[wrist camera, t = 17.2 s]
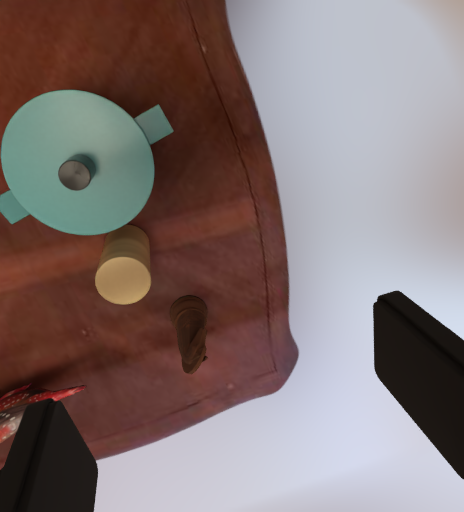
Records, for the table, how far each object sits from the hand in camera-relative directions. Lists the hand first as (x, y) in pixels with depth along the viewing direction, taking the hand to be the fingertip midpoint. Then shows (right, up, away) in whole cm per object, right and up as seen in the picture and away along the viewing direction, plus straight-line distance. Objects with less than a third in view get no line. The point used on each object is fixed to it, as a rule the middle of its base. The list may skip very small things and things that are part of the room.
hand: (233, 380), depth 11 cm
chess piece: (-6, -3, +35) cm, 36 cm away
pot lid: (-12, +11, +19) cm, 25 cm away
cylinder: (-12, +5, +30) cm, 32 cm away
